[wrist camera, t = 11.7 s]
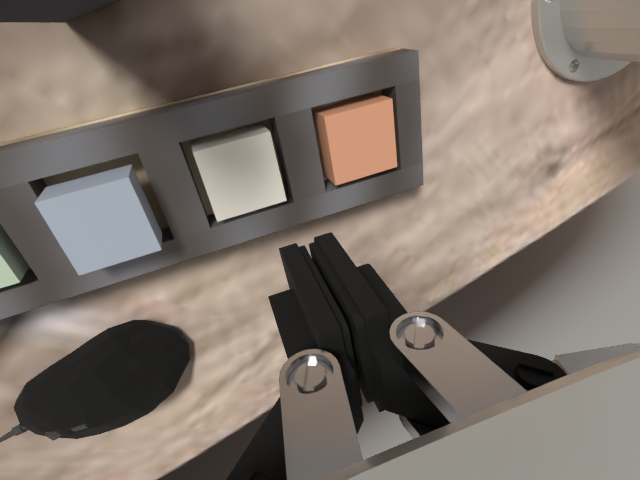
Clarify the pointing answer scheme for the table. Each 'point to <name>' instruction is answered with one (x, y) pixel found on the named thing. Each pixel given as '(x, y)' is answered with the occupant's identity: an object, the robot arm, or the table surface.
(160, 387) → the gaming mouse
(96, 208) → the key slate
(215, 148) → the key ivory
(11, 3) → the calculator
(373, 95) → the key terracotta
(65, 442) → the table surface
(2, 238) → the key sage
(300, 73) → the keypad
